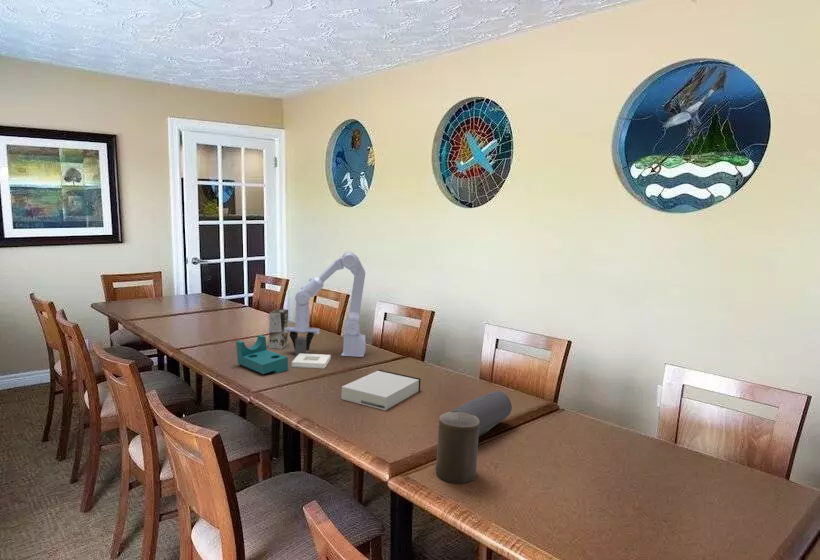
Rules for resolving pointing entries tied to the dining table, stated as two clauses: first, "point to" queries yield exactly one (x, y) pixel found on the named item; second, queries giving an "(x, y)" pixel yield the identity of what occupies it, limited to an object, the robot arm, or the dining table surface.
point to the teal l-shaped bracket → (260, 357)
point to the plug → (301, 345)
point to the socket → (311, 361)
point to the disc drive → (381, 389)
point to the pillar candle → (457, 447)
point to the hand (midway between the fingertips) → (301, 349)
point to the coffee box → (278, 328)
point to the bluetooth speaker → (487, 409)
